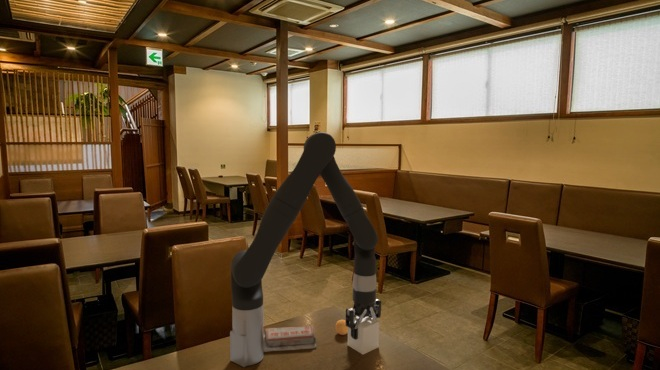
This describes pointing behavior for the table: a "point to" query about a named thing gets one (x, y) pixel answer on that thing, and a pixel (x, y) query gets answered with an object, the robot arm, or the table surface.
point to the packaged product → (289, 338)
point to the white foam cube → (365, 336)
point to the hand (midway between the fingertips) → (363, 334)
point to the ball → (341, 327)
